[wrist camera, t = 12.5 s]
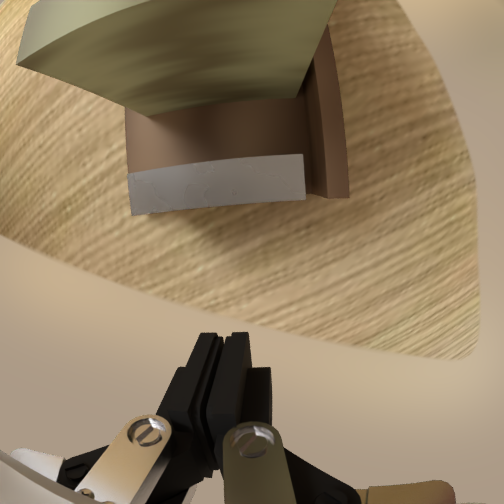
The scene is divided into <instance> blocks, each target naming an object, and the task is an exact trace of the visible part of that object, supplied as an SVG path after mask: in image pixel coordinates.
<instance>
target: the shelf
mask: <svg viewBox="0 0 504 504" xmlns="http://www.w3.org/2000/svg"><path fill="white" fill-rule="evenodd" d="M336 2H337V0H40V1H38V2H37V3H35V4H34V5H32V6H31V8H30V11H29V14H28V17H27V21H26V24H25V27H24V31H23V35H22V39H21V43H20V47H19V52H18V56H17V61H16V65H18V66H21V67H24V68H27V69H30V70H33V71H36V72H39V73H42V74H45V75H48V76H50V77H53V78H56V79H59V80H61V81H64V82H67V83H69V84H72V85H74V86H77V87H79V88H82V89H84V90H87V91H89V92H92V93H94V94H96V95H99V96H101V97H104V98H106V99H108V100H111V101H113V102H115V103H117V104H120V105H122V106H124V107H125V131H126V150H127V164H128V174H130V173H135V172H141V171H146V170H152V169H158V168H164V167H171V166H177V165H184V164H192V163H199V162H207V161H216V160H225V159H235V158H246V157H258V156H273V155H290V154H303V162H304V176H305V191H306V194H315V195H318V196H321V197H324V198H327V199H332V198H349V181H348V165H347V151H346V140H345V130H344V121H343V112H342V104H341V96H340V89H339V83H338V76H337V70H336V64H335V59H334V53H333V48H332V43H331V38H330V33H329V29H328V24H327V23H328V21H329V18H330V16H331V14H332V12H333V9H334V7H335V5H336Z"/></svg>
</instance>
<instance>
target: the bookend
mask: <svg viewBox="0 0 504 504" xmlns="http://www.w3.org/2000/svg"><path fill="white" fill-rule="evenodd" d="M127 178H128V188H129V198H130V206H131V214H132V216H135V215H143V214H151V213H159V212H167V211H176V210H185V209H195V208H205V207H215V206H226V205H238V204H250V203H264V202H278V201H295V200H306V191H305V176H304V162H303V154H290V155H273V156H258V157H246V158H235V159H225V160H216V161H207V162H199V163H192V164H184V165H177V166H171V167H164V168H158V169H152V170H146V171H141V172H135V173H130V174H127Z"/></svg>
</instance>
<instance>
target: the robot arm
mask: <svg viewBox="0 0 504 504" xmlns="http://www.w3.org/2000/svg"><path fill="white" fill-rule="evenodd" d="M271 382H272V381H271V368H270V367H257V368H252V361H251V351H250V341H249V333H248V332H233V333H232V336H227V337H226V339H225V343H224V340H223V337H218V335H217V333H200V335H199V337H198V340H197V342H196V344H195V346H194V349H193V351H192V353H191V355H190V358H189V360H188V362H187V365H186V367H178V369H177V370H176V372H175V374H174V377H173V379H172V381H171V383H170V385H169V387H168V389H167V391H166V393H165V396H164V398H163V400H162V402H161V404H160V406H159V408H158V410H157V413H156V415H142V416H139V417H136V418H134V419H132V420H130V421H129V422H128V423H127V424H126V425H125V426H124V427H123V429H122V430H121V432H120V433H119V434H118V435H117V436H116V438H115V439H114V440H113V442H112V443H111V444H110V445H107V446H105V447H102V448H99V449H96V450H93V451H91V452H87V453H84V454H81V455H78V456H75V457H72V458H70V459H68V460H66V459H65V458H64V457H60V456H54V455H50V454H46V453H41V452H37V451H33V450H29V449H26V448H19V449H15V450H14V451H13V452H11V454H10V455H7V454H6V453H4V452H3V451H1V450H0V504H190V502H191V500H192V498H193V496H194V494H195V491H196V488H197V483H199V482H201V481H203V479H204V477H207V478H212V474H213V470H219V469H220V471H221V474H222V477H223V480H224V499H225V500H224V501H225V504H456V498H455V492H454V490H453V487H452V486H451V485H450V484H449V483H447V482H444V481H442V480H432V481H426V482H419V483H411V484H401V485H389V486H369V488H368V489H353V488H352V487H351V486H349V485H347V484H345V483H343V482H341V481H340V480H338V479H336V478H334V477H332V476H330V475H328V474H327V473H325V472H323V471H321V470H320V469H318V468H316V467H314V466H313V465H311V464H309V463H308V462H306V461H304V460H303V459H301V458H300V457H298V456H296V455H295V454H293V453H292V452H290V451H288V450H287V449H286V448H284V447H283V443H282V439H281V436H280V434H279V432H278V431H277V430H276V429H275V428H274V427H273V426H272V383H271ZM461 504H484V503H461Z"/></svg>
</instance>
